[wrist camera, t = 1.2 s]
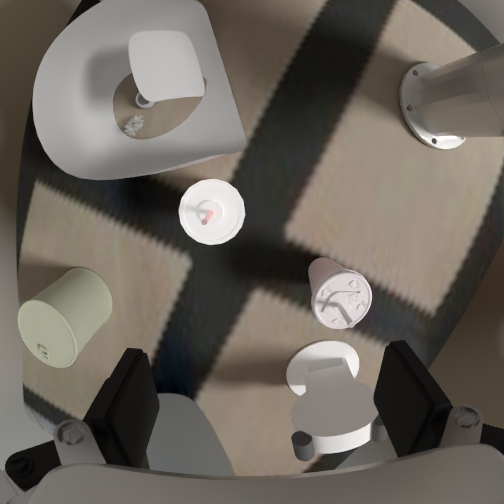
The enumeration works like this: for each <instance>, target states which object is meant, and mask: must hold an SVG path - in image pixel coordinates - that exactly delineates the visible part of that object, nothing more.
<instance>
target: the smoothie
mask: <svg viewBox="0 0 504 504" xmlns="http://www.w3.org/2000/svg"><path fill="white" fill-rule="evenodd" d="M308 275H309V280H310V285H311V290H312V301H311V305H312V309H313V312H314V314H315V315H316V317H317V319H318V320H319V321H320V322H321V323H322V324H323V325H325V326H327V327H329V328H333V329H343V328H347V327H350V328H352V327H354V325H355V324H356V323H357V322H359V321H360V320H361V319H362V318H363V317H364V316H365V315H366V313H367V312H368V310H369V308H370V305H371V300H372V293H371V288H370V286H369V284H368V282H367V281H366V279H365V278H364V277H363V276H362V275H361V274H359V273H357V272H356V271H353V270H348V269H345V268H344V267H342V266H341V265H339V264H337V263H336V262H334V261H332V260H331V259H329V258H326V257H321V258H317V259H315V260H314V261H313V262H312V263H311V264H310V266H309V269H308Z"/></svg>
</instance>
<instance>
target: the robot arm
mask: <svg viewBox="0 0 504 504" xmlns="http://www.w3.org/2000/svg"><path fill="white" fill-rule="evenodd" d="M399 97H400V105H401V109H402V113H403V116H404V118H405V121H406V122H407V124H408V126H409V128H410V129H411V130H412V132H413V133H414V134H415V136H416V137H417V138H419V139H420V140H421V141H422V142H423V143H425V144H426V145H428V146H430V147H432V148H434V149H439V150H450V149H454V148H456V147H458V146H460V145H461V144H462V143H463V142H464V141H465V140H466V138H469V137H504V43H503V44H500V45H497V46H494V47H491V48H489V49H486V50H483V51H480V52H478V53H475V54H472V55H470V56H467V57H464V58H462V59H459V60H457V61H454V62H452V63H449V64H447V65H444V66H440V65H437V64H434V63H420V64H418V65H416V66H414V67H412V68H410V69H409V70H408V71H407V72H406V73H405V75H404V77H403V79H402V81H401V85H400V92H399ZM407 109H408V110H407ZM373 400H374V404H375V406H376V408H377V411H378V413H379V415H380V417H381V419H382V422H383V424H384V426H385V428H386V431H387V433H388V435H389V437H390V440H391V442H392V444H393V447H394V449H395V451H396V454H397V456H398V458H395V459H390V460H386V461H382V462H376V463H372V464H367V465H361V466H356V467H350V468H344V469H338V470H330V471H322V472H313V473H303V474H291V475H275V476H211V475H210V476H209V475H193V474H183V473H173V472H163V471H155V470H147V469H140V468H141V465H142V462H143V459H144V455H145V452H146V449H147V446H148V443H149V440H150V436H151V433H152V430H153V427H154V424H155V421H156V418H157V415H158V412H159V399H158V396H157V392H156V388H155V384H154V380H153V376H152V372H151V368H150V364H149V360H148V356H147V353H143V351H142V349H135V348H127V349H126V351H125V352H124V354H123V356H122V357H121V359H120V361H119V362H118V364H117V366H116V367H115V369H114V371H113V372H112V374H111V376H110V378H107V379H106V380H105V382H104V384H103V385H102V387H101V389H100V391H99V392H98V394H97V396H96V397H95V399H94V401H93V403H92V404H91V406H90V408H89V410H88V412H87V413H86V415H85V417H84V419H83V420H82V421H81V420H75V419H71V420H66V421H64V422H62V423H60V424H59V425H58V426H57V427H56V429H55V430H54V433H53V438H54V440H52V441H49V442H46V443H43V444H40V445H37V446H35V447H32V448H29V449H26V450H22V451H19V452H16V453H14V454H12V455H11V456H10V457H9V458H8V460H7V461H6V464H5V470H4V471H1V470H0V504H504V429H501V428H497V427H493V426H490V425H486V424H483V416H482V414H481V412H480V411H479V410H478V409H476V408H475V407H473V406H470V405H465V404H463V405H458V406H455V407H454V408H453V406H452V405H451V402H450V401H449V399H448V398H447V396H446V395H445V393H444V392H443V391H442V389H441V388H440V387H439V385H438V384H437V382H436V381H435V380H434V378H433V377H432V376H431V374H430V373H429V372H428V370H427V369H426V367H425V366H424V365H423V363H422V362H421V361H420V359H419V358H418V357H417V355H416V354H415V353H414V352H413V350H412V349H411V348H410V346H409V345H408V344H407V342H406V341H405V340H400V341H392V342H390V344H389V346H386V348H385V352H384V356H383V360H382V365H381V369H380V373H379V377H378V381H377V384H376V388H375V392H374V396H373Z"/></svg>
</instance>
